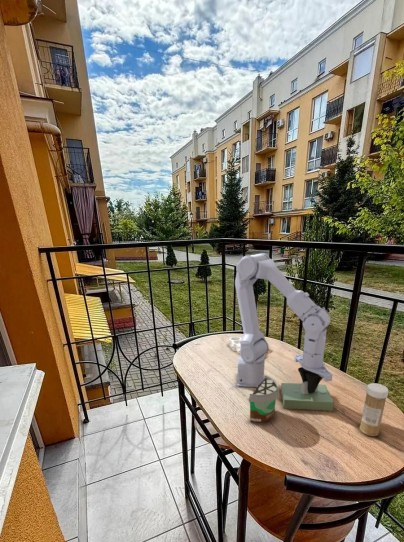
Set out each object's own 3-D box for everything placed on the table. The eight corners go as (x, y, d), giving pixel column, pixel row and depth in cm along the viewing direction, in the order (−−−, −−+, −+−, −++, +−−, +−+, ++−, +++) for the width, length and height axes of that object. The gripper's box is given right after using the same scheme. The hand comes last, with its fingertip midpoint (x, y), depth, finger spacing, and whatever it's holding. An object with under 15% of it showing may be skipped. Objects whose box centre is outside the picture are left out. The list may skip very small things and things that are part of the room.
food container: (269, 432, 75) (271, 400, 72) (248, 425, 79) (248, 394, 75) (283, 408, 85) (285, 379, 82) (263, 402, 88) (265, 374, 85)
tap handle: (303, 394, 86) (304, 383, 85) (300, 392, 87) (301, 381, 86) (317, 391, 87) (318, 380, 86) (314, 389, 89) (315, 378, 87)
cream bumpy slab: (272, 351, 124) (246, 360, 117) (246, 339, 138) (222, 346, 132) (272, 344, 123) (246, 352, 116) (246, 333, 137) (221, 339, 130)
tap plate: (283, 408, 85) (284, 399, 84) (280, 390, 94) (281, 382, 93) (332, 411, 83) (334, 402, 82) (324, 392, 92) (325, 384, 91)
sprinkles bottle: (382, 432, 74) (392, 388, 69) (373, 439, 71) (383, 394, 67) (364, 423, 77) (373, 380, 72) (355, 429, 75) (363, 386, 70)
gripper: (343, 358, 77) (337, 400, 82) (308, 340, 90) (305, 377, 95) (322, 362, 75) (317, 405, 80) (290, 343, 88) (287, 381, 93)
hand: (309, 390), depth 87 cm, fingers closed on tap handle
